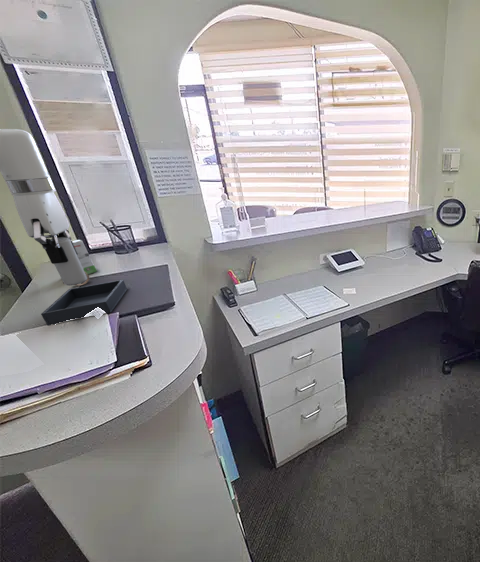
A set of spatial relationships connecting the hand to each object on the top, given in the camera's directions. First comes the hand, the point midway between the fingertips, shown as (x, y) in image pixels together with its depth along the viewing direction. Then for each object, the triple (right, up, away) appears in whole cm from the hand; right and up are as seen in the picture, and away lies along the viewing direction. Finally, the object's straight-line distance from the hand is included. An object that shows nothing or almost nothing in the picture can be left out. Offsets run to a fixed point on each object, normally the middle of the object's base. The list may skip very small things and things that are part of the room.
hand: (65, 258), depth 80 cm
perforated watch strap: (-16, -7, +21) cm, 27 cm away
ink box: (-24, -4, +30) cm, 38 cm away
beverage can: (0, -6, +3) cm, 7 cm away
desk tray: (+1, -13, +6) cm, 14 cm away
